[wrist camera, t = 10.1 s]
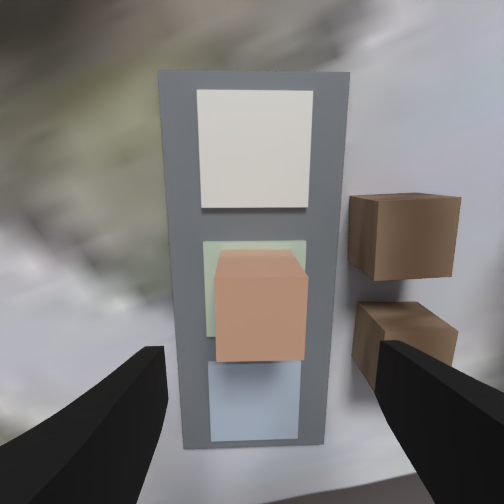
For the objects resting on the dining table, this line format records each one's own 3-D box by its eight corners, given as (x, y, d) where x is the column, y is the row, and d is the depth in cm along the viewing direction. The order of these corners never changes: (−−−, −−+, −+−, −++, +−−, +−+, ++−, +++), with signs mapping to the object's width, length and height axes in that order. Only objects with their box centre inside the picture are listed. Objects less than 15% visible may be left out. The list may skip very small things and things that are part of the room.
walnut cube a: (414, 192, 18) (461, 197, 14) (409, 256, 19) (451, 276, 15) (349, 195, 18) (378, 201, 14) (347, 259, 19) (373, 281, 15)
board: (346, 75, 16) (352, 69, 16) (321, 437, 22) (325, 449, 21) (160, 73, 16) (155, 66, 15) (184, 442, 22) (182, 454, 21)
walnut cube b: (416, 301, 20) (458, 331, 16) (407, 354, 21) (445, 395, 17) (357, 301, 20) (385, 331, 16) (351, 355, 21) (376, 395, 17)
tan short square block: (289, 249, 18) (308, 276, 13) (287, 312, 19) (304, 360, 14) (221, 249, 18) (213, 277, 13) (222, 313, 19) (216, 362, 14)
